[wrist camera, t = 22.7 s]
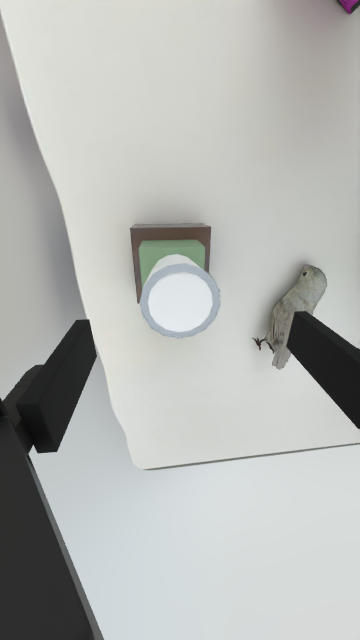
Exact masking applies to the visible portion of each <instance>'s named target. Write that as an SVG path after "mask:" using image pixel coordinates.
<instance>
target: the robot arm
mask: <svg viewBox="0 0 360 640" xmlns="http://www.w3.org/2000/svg"><path fill="white" fill-rule="evenodd" d="M286 347H287V348H288V350H289V351H290V352H291V353H292V354H293V355H294V356H295V358H296V359H297V360H298V361H299V362H300V363H301V364H302V365H303V367H304V368H305V369H306V370H307V371H308V372H309V373H310V375H311V376H312V377H313V378H314V379H315V380H316V381H317V382H318V384H319V385H320V386H321V387H322V388H323V389H324V390H325V392H326V393H327V394H328V395H329V396H330V397H331V398H332V399H333V401H334V402H335V403H336V404H337V405H338V406H339V407H340V409H341V410H342V411H343V412H344V413H345V414H346V415H347V416H348V418H349V419H350V420H351V421H352V422H353V423H354V424H355V426H356V427H357V428H358V429H360V349H358V348H356V347H354V346H353V345H352V344H350V343H349V342H348V341H346V340H345V339H343V338H342V337H341V336H339V335H338V334H337V333H335V332H334V331H333V330H331V329H330V328H328V327H327V326H326V325H324V324H323V323H322V322H320V321H319V320H318V319H316V318H315V317H313V316H312V315H311V314H309V313H308V312H307V311H295V312H294V316H293V320H292V324H291V328H290V332H289V336H288V340H287V345H286ZM96 357H97V355H96V350H95V345H94V340H93V335H92V331H91V326H90V321H89V319H88V320H76V321H75V323H74V324H73V325H72V327H71V328H70V330H69V331H68V332H67V334H66V335H65V337H64V338H63V339H62V341H61V342H60V343H59V345H58V346H57V348H56V349H55V350H54V352H53V353H52V354H51V356H50V357H49V359H48V360H47V361H46V363H45V364H44V365H35V366H34V367H32V368H31V369H30V370H28V371H27V372H26V373H25V374H24V375H23V377H22V378H21V379H20V382H18V383H17V384H16V385H15V387H14V388H13V389H12V391H11V392H10V393H9V394H8V395H7V397H6V398H5V399H4V400H3V402H2V400H1V398H0V640H104V638H103V636H102V634H101V631H100V629H99V626H98V624H97V621H96V619H95V616H94V614H93V611H92V609H91V607H90V604H89V602H88V599H87V597H86V594H85V592H84V589H83V587H82V584H81V582H80V579H79V577H78V574H77V572H76V570H75V567H74V565H73V562H72V560H71V557H70V555H69V552H68V550H67V547H66V545H65V542H64V540H63V538H62V535H61V533H60V530H59V528H58V525H57V523H56V520H55V518H54V516H53V513H52V510H51V508H50V506H49V503H48V501H47V498H46V496H45V493H44V491H43V488H42V486H41V483H40V481H39V479H38V476H37V473H36V471H35V469H34V466H33V464H32V461H31V459H30V457H29V455H28V453H29V452H30V450H31V448H32V446H33V444H34V447H35V449H36V451H37V453H48V452H57V450H58V448H59V446H60V443H61V441H62V439H63V436H64V434H65V431H66V429H67V427H68V424H69V422H70V419H71V417H72V414H73V412H74V409H75V407H76V405H77V403H78V400H79V398H80V395H81V393H82V390H83V388H84V386H85V383H86V381H87V379H88V376H89V374H90V371H91V369H92V366H93V364H94V361H95V359H96Z"/></svg>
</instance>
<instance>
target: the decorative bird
mask: <svg viewBox="0 0 360 640" xmlns="http://www.w3.org/2000/svg"><path fill="white" fill-rule="evenodd" d="M326 286H327V280H326V277H325V275H324V273H323V272H322V271H321V270H320V269H319V268H316V267H314V266H311V265H305V266H304V267H303V269H302V273H301V275H300V277H299V279H298V282H297V284H296V286H295V287H294V288H292V289H291V290H290V291H289V292H288V293H287V294H286V295H285V296H284V297H283V298H282V299H281V300H280V301H278V303H277V304H276V305H275V307H274V309H273V312H272V316H271V320H270V331H269V333H268V335H267V336H266V337H265V338H264V339H262V340H261V341H260V342H259V339H258V338H257V340H256V339H254V338H253V339H254V340H255V341H256V344H257V345H258V346H259V349H260V350H261V347H260V345H261V342H262V341H266V340H269V342H270V344H269V343H268V342H267V343H268V345H269V347H270V349H272V351H273V354H274V351H275V355H274V359H273V361H272V365H273V366H276V368H277V369H279V370H280V369H281V368H284V366H285V364H286V362H288V359H289V358H290V355H291V352H290V351H289V350H288V348H287V347H286V345H287V340H288V336H289V332H290V328H291V324H292V320H293V316H294V312H295V311H307V312H308V313H309V314H311V315H312V314H313V311H314V309H315V307H316V305H317V303H318V302H319V300H320V299H321V297H322V295H323V294H324V292H325V289H326Z"/></svg>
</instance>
